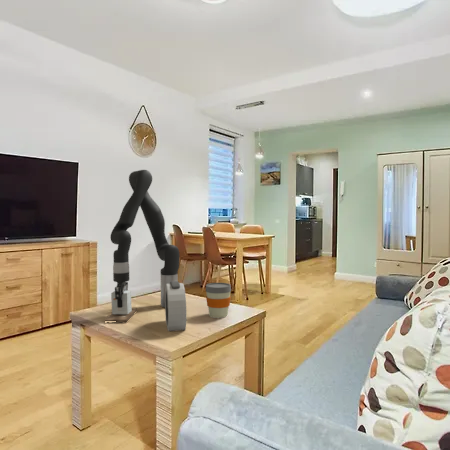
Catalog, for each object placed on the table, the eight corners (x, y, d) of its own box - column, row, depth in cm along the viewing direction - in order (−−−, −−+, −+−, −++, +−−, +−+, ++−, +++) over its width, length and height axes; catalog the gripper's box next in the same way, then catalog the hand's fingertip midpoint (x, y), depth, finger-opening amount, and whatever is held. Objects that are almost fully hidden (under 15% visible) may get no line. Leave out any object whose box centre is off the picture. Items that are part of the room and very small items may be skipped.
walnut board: (137, 311, 183) (137, 308, 183) (126, 322, 164) (126, 319, 164) (117, 311, 183) (117, 308, 183) (104, 323, 164) (104, 319, 164)
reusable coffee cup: (228, 319, 168) (228, 288, 167) (202, 318, 170) (202, 287, 170) (233, 312, 180) (233, 282, 180) (209, 311, 183) (209, 282, 182)
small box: (131, 311, 176) (131, 290, 176) (127, 314, 170) (127, 292, 170) (116, 311, 177) (115, 290, 176) (111, 314, 171) (111, 292, 171)
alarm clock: (165, 319, 169) (164, 278, 168) (181, 318, 170) (180, 277, 170) (168, 334, 148) (168, 287, 147) (186, 332, 150) (186, 286, 149)
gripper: (124, 273, 166) (125, 309, 166) (132, 268, 180) (133, 301, 181) (108, 273, 166) (109, 309, 166) (117, 269, 180) (118, 302, 181)
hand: (121, 305), depth 174 cm, fingers closed on small box, 6 cm apart
